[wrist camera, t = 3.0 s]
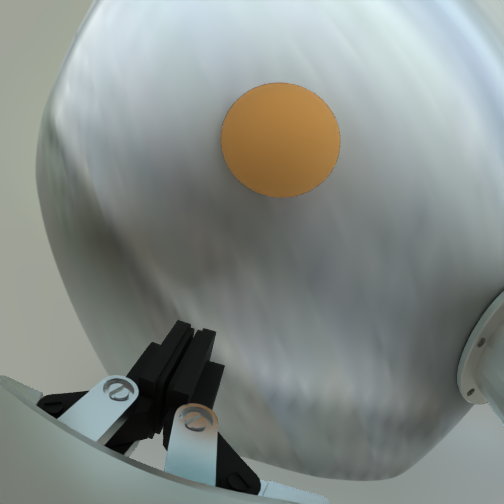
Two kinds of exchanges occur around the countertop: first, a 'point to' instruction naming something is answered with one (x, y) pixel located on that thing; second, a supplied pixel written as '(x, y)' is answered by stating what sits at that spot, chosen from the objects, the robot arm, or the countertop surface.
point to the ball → (280, 140)
